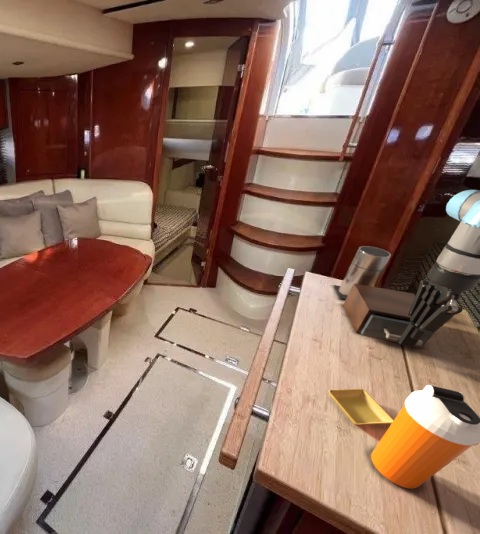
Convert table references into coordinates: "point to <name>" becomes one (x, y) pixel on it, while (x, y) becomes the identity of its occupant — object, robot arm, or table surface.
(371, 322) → the drawer
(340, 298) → the coaster
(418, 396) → the shaker bottle
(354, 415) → the yellow square tray
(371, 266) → the metal cup
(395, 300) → the cabinet
